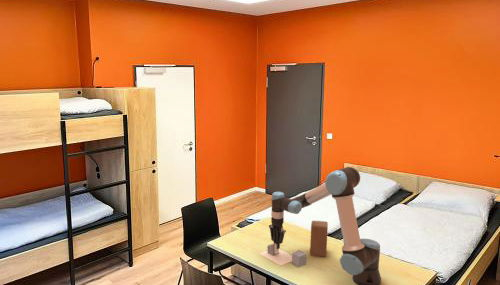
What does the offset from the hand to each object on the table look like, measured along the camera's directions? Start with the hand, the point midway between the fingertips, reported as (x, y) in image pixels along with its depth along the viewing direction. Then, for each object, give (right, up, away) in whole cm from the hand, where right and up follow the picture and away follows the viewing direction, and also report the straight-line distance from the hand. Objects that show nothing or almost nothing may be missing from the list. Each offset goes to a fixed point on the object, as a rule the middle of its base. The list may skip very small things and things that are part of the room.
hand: (276, 252), depth 240 cm
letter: (+1, -2, 0) cm, 2 cm away
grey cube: (-2, -1, +3) cm, 4 cm away
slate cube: (+13, -4, -10) cm, 16 cm away
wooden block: (+27, -2, +4) cm, 27 cm away
